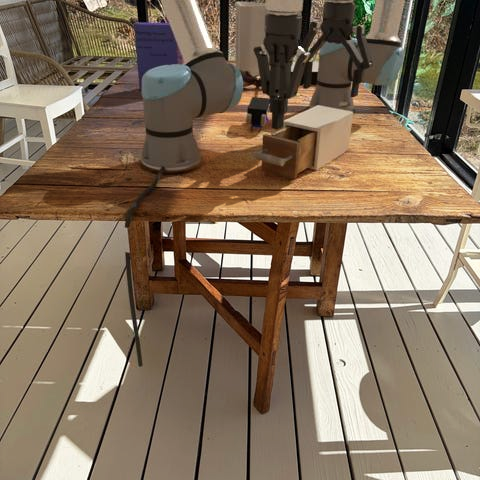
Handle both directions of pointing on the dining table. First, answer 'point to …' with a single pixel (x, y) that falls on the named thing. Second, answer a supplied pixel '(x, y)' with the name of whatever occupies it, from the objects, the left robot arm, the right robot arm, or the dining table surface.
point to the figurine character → (257, 112)
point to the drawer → (288, 151)
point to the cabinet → (325, 131)
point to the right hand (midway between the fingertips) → (329, 92)
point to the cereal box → (155, 47)
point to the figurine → (250, 79)
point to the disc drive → (314, 73)
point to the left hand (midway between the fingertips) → (277, 127)
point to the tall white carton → (249, 34)
